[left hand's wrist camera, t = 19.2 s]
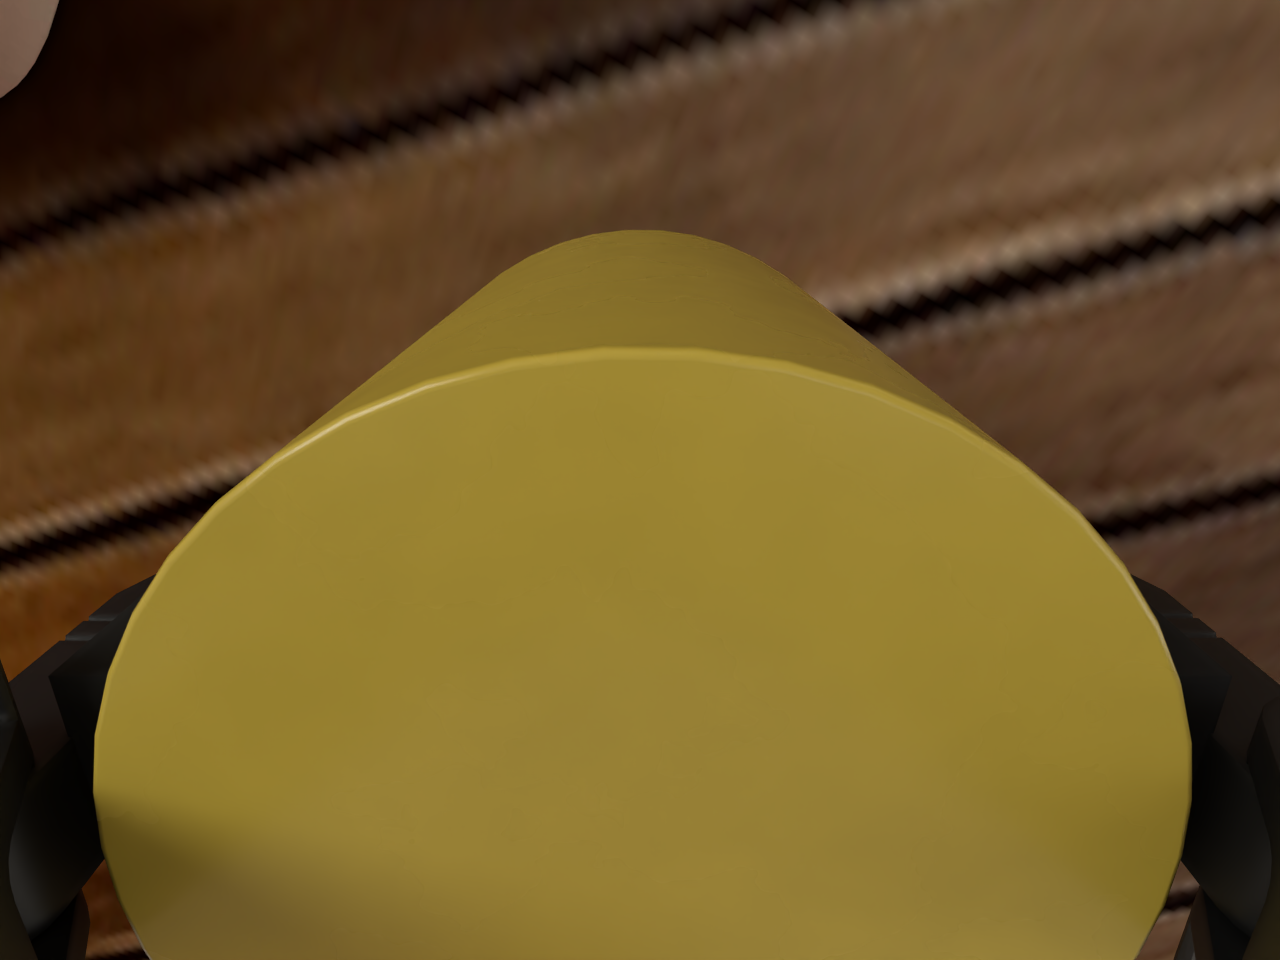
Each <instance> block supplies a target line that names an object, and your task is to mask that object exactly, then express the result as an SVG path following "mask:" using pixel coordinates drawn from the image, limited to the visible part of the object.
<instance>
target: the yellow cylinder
mask: <svg viewBox="0 0 1280 960" xmlns="http://www.w3.org/2000/svg"><path fill="white" fill-rule="evenodd" d="M93 795H94V801H95V808H96V815H97V822H98V829H99V835H100V842H101V848H102V851H103V854H104V857H105V861H106V864H107V867H108V870H109V873H110V876H111V879H112V882H113V885H114V889H115V892H116V895H117V898H118V900H119V902H120V904H121V906H122V908H123V910H124V912H125V914H126V916H127V918H128V920H129V922H130V924H131V926H132V928H133V930H134V932H135V934H136V936H137V938H138V940H139V942H140V944H141V946H142V948H143V950H144V951H145V952H146V954H147V955H148V957H149V958H150V960H1135V959H1136V958H1137V956H1138V955H1139V953H1140V951H1141V949H1142V948H1143V946H1144V944H1145V942H1146V940H1147V938H1148V936H1149V934H1150V932H1151V931H1152V929H1153V927H1154V925H1155V923H1156V921H1157V919H1158V917H1159V915H1160V914H1161V912H1162V910H1163V908H1164V906H1165V903H1166V900H1167V897H1168V894H1169V892H1170V889H1171V886H1172V883H1173V880H1174V877H1175V874H1176V871H1177V869H1178V866H1179V863H1180V860H1181V857H1182V854H1183V848H1184V842H1185V836H1186V831H1187V825H1188V819H1189V814H1190V808H1191V802H1192V742H1191V736H1190V730H1189V725H1188V719H1187V714H1186V708H1185V703H1184V697H1183V692H1182V686H1181V682H1180V679H1179V676H1178V673H1177V671H1176V668H1175V665H1174V663H1173V660H1172V657H1171V655H1170V652H1169V649H1168V647H1167V644H1166V641H1165V639H1164V636H1163V633H1162V631H1161V628H1160V625H1159V623H1158V620H1157V619H1156V617H1155V615H1154V614H1153V612H1152V610H1151V608H1150V607H1149V605H1148V603H1147V602H1146V600H1145V598H1144V597H1143V595H1142V593H1141V592H1140V590H1139V588H1138V587H1137V585H1136V583H1135V581H1134V580H1133V578H1132V576H1131V575H1130V573H1129V571H1128V570H1127V568H1126V566H1125V565H1124V563H1123V562H1122V561H1121V560H1120V558H1119V557H1118V556H1117V555H1116V554H1115V553H1114V551H1113V550H1112V549H1111V548H1110V547H1109V545H1108V544H1107V543H1106V542H1105V541H1104V540H1103V538H1102V537H1101V536H1100V535H1099V534H1098V533H1097V531H1096V530H1095V529H1094V528H1093V527H1092V525H1091V524H1090V523H1089V522H1088V521H1087V520H1086V518H1085V517H1084V516H1083V515H1082V514H1081V512H1080V511H1079V510H1078V509H1077V508H1076V507H1074V506H1073V505H1072V504H1071V503H1070V502H1069V501H1067V500H1066V499H1065V498H1064V497H1063V496H1062V495H1060V494H1059V493H1058V492H1057V491H1056V490H1054V489H1053V488H1052V487H1051V486H1050V485H1049V484H1047V483H1046V482H1045V481H1044V480H1043V479H1042V478H1040V477H1039V476H1038V475H1037V474H1036V473H1035V472H1033V471H1032V470H1031V469H1030V468H1029V467H1027V466H1026V465H1025V464H1024V463H1023V462H1022V461H1020V460H1019V459H1018V458H1017V457H1015V456H1014V455H1013V454H1012V453H1010V452H1009V451H1008V450H1006V449H1005V448H1004V447H1003V446H1001V445H1000V444H999V443H997V442H996V441H995V440H994V439H992V438H991V437H990V436H989V435H987V434H986V433H985V432H983V431H982V430H981V429H980V428H978V427H977V426H976V425H975V424H973V423H972V422H971V421H969V420H968V419H967V418H966V417H964V416H963V415H962V414H960V413H959V412H958V411H957V410H955V409H954V408H953V407H952V406H950V405H949V404H948V403H946V402H945V401H944V400H943V399H941V398H940V397H939V396H938V395H936V394H935V393H934V392H932V391H931V390H930V389H929V388H927V387H926V386H925V385H923V384H922V383H921V382H920V381H918V380H917V379H916V378H915V377H913V376H912V375H911V374H909V373H908V372H907V371H906V370H904V369H903V368H902V367H901V366H899V365H898V364H897V363H895V362H894V361H893V360H892V359H890V358H889V357H888V356H886V355H885V354H884V353H883V352H881V351H880V350H879V349H878V348H876V347H875V346H874V345H872V344H871V343H870V342H869V341H867V340H866V339H865V338H864V337H862V336H861V335H860V334H858V333H857V332H856V331H855V330H853V329H852V328H851V327H849V326H848V325H847V324H846V323H844V322H843V321H842V320H841V319H839V318H838V317H837V316H835V315H834V314H833V313H832V312H830V311H829V310H828V309H827V308H825V307H824V306H823V305H821V304H820V303H819V302H818V301H816V300H815V299H814V298H812V297H811V296H810V295H809V294H807V293H806V292H805V291H804V290H802V289H801V288H800V287H798V286H797V285H796V284H795V283H793V282H792V281H791V280H790V279H788V278H787V277H786V276H784V275H783V274H781V273H780V272H778V271H776V270H775V269H773V268H772V267H770V266H768V265H767V264H765V263H764V262H762V261H760V260H759V259H757V258H755V257H753V256H751V255H749V254H746V253H744V252H742V251H740V250H737V249H735V248H733V247H731V246H728V245H726V244H723V243H719V242H716V241H712V240H709V239H706V238H702V237H699V236H695V235H689V234H683V233H676V232H669V231H662V230H622V231H615V232H607V233H599V234H592V235H588V236H585V237H581V238H577V239H574V240H570V241H566V242H563V243H559V244H557V245H555V246H552V247H550V248H548V249H545V250H543V251H541V252H538V253H536V254H534V255H531V256H529V257H528V258H526V259H524V260H523V261H521V262H519V263H518V264H516V265H514V266H513V267H511V268H509V269H508V270H506V271H504V272H503V273H501V274H500V275H499V276H497V277H496V278H495V279H494V280H492V281H491V282H490V283H489V284H487V285H486V286H485V287H484V288H482V289H481V290H480V291H479V292H477V293H476V294H475V295H474V296H472V297H471V298H470V299H469V300H467V301H466V302H465V303H464V304H462V305H461V306H460V307H459V308H457V309H456V310H455V311H454V312H452V313H451V314H450V315H449V316H447V317H446V318H445V319H444V320H442V321H441V322H440V323H439V324H437V325H436V326H435V327H434V328H432V329H431V330H430V331H429V332H427V333H426V334H425V335H424V336H422V337H421V338H420V339H418V340H417V341H416V342H415V343H413V344H412V345H411V346H410V347H408V348H407V349H406V350H405V351H403V352H402V353H401V354H400V355H398V356H397V357H396V358H395V359H393V360H392V361H391V362H390V363H388V364H387V365H386V366H385V367H383V368H382V369H381V370H380V371H378V372H377V373H376V374H375V375H373V376H372V377H371V378H370V379H368V380H367V381H366V382H365V383H363V384H362V385H361V386H360V387H358V388H357V389H356V390H355V391H353V392H352V393H351V394H350V395H348V396H347V397H346V398H345V399H343V400H342V401H341V402H340V403H338V404H337V405H336V406H335V407H333V408H332V409H331V410H330V411H328V412H327V413H326V414H325V415H323V416H322V417H321V418H320V419H318V420H317V421H316V422H315V423H313V424H312V425H311V426H310V427H308V428H307V429H306V430H305V431H303V432H302V433H301V434H300V435H298V436H297V437H296V438H295V439H293V440H292V441H291V442H290V443H288V444H287V445H286V446H285V447H283V448H282V449H281V450H280V451H278V452H277V453H276V454H275V455H273V456H272V457H271V458H270V459H268V460H267V461H266V462H265V463H263V464H262V465H261V466H260V467H259V468H257V469H256V470H255V471H254V472H252V473H251V474H250V475H249V476H247V477H246V478H245V479H244V480H243V481H241V482H240V483H239V484H238V485H236V486H235V487H234V488H233V489H231V490H230V491H229V492H228V493H227V494H225V495H224V496H223V497H222V498H220V499H219V500H218V501H217V502H216V503H215V504H214V505H213V506H212V507H211V508H210V509H209V510H208V512H207V513H206V514H205V515H204V516H203V517H202V518H201V519H200V521H199V522H198V523H197V524H196V525H195V526H194V527H193V528H192V529H191V531H190V532H189V533H188V534H187V535H186V536H185V537H184V538H183V540H182V541H181V542H180V543H179V544H178V545H177V546H176V547H175V549H174V550H173V551H172V552H171V553H170V554H169V555H168V557H167V558H166V560H165V561H164V563H163V565H162V566H161V568H160V569H159V571H158V572H157V574H156V576H155V577H154V579H153V580H152V582H151V584H150V585H149V587H148V588H147V590H146V592H145V593H144V595H143V596H142V598H141V600H140V601H139V603H138V604H137V606H136V608H135V609H134V611H133V612H132V615H131V617H130V619H129V622H128V624H127V627H126V629H125V632H124V634H123V637H122V639H121V642H120V644H119V647H118V649H117V651H116V654H115V656H114V659H113V661H112V664H111V666H110V669H109V671H108V675H107V679H106V684H105V689H104V693H103V698H102V703H101V708H100V713H99V717H98V722H97V727H96V732H95V745H94V781H93Z"/></svg>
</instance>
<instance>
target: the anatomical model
mask: <svg viewBox="0 0 1280 960" xmlns="http://www.w3.org/2000/svg"><path fill="white" fill-rule="evenodd" d="M58 2H59V0H0V98H1V97H2V96H4V95H5V94H6V93H8V92H9V91H10V90H12V89H13V88H14V87H16V86H17V85H18V84H19V83H20V81H21V80H22V79H23V78H24V77H25V76H26V75H27V73H28V72H29V70H30V69H31V67H32V66H33V65H34V63H35V61H36V59H37V57H38V55H39V53H40V51H41V49H42V47H43V45H44V43H45V41H46V39H47V37H48V34H49V31H50V28H51V25H52V21H53V18H54V15H55V12H56V9H57V6H58Z"/></svg>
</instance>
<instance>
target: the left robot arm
mask: <svg viewBox="0 0 1280 960" xmlns="http://www.w3.org/2000/svg"><path fill="white" fill-rule="evenodd" d="M1130 575H1131V574H1130ZM155 576H156V574H155V575H153V576H151V577H149V578H147V579H145V580H143V581H141V582H139V583H137V584H135V585H133V586H131V587H129V588H127V589H125V590H123V591H121V592H119V593H117V594H116V595H115V596H113V597H112V598H111V599H110V600H108V601H107V602H106V603H105V604H104V605H102V606H101V607H100V608H99V609H98V610H96V611H95V612H94V613H93V614H91V615H90V616H89V621H83V622H82V623H81V624H79V625H78V626H77V627H76V628H75V629H73V630H72V631H71V632H70V633H68V634H67V635H66V639H65V641H59V642H58V643H56V644H55V645H54V646H53V647H51V648H50V649H49V650H48V651H47V652H45V653H44V654H43V655H42V656H41V657H39V658H38V659H37V660H36V661H34V662H33V663H32V664H31V665H30V666H28V667H27V668H26V669H25V670H24V671H22V672H21V673H20V674H19V675H17V676H16V677H15V678H14V679H13V680H11V681H10V682H9V683H8V680H7V677H6V674H5V671H4V669H3V666H2V663H1V660H0V960H85V955H86V948H87V941H88V934H89V927H90V918H89V912H88V906H87V903H86V900H85V897H84V895H83V892H82V889H81V888H82V887H83V886H84V885H85V883H86V882H87V881H88V879H89V878H90V877H91V875H92V874H93V873H94V872H95V870H96V869H97V868H98V866H99V865H100V864H101V862H102V861H103V860H104V859H105V857H104V854H103V851H102V848H101V842H100V835H99V829H98V822H97V815H96V808H95V801H94V795H93V781H94V745H95V732H96V727H97V722H98V717H99V713H100V708H101V703H102V698H103V693H104V689H105V684H106V679H107V675H108V671H109V669H110V666H111V664H112V661H113V659H114V656H115V654H116V651H117V649H118V647H119V644H120V642H121V639H122V637H123V634H124V632H125V629H126V627H127V624H128V622H129V619H130V617H131V615H132V612H133V611H134V609H135V608H136V606H137V604H138V603H139V601H140V600H141V598H142V596H143V595H144V593H145V592H146V590H147V588H148V587H149V585H150V584H151V582H152V580H153V579H154V577H155ZM1131 576H1132V578H1133V580H1134V581H1135V583H1136V585H1137V587H1138V588H1139V590H1140V592H1141V593H1142V595H1143V597H1144V598H1145V600H1146V602H1147V603H1148V605H1149V607H1150V608H1151V610H1152V612H1153V614H1154V615H1155V617H1156V619H1157V620H1158V623H1159V625H1160V628H1161V631H1162V633H1163V636H1164V639H1165V641H1166V644H1167V647H1168V649H1169V652H1170V655H1171V657H1172V660H1173V663H1174V665H1175V668H1176V671H1177V673H1178V676H1179V679H1180V682H1181V686H1182V692H1183V697H1184V703H1185V708H1186V714H1187V719H1188V725H1189V730H1190V736H1191V742H1192V802H1191V808H1190V814H1189V819H1188V825H1187V831H1186V836H1185V842H1184V848H1183V854H1182V857H1181V861H1182V862H1183V864H1184V865H1185V866H1186V868H1187V869H1188V870H1189V872H1190V873H1191V874H1192V875H1193V877H1194V878H1195V879H1196V881H1197V882H1198V883H1199V884H1200V886H1199V889H1198V892H1197V895H1196V897H1195V900H1194V903H1193V906H1192V909H1191V912H1190V914H1189V917H1188V920H1187V923H1186V926H1185V929H1184V931H1183V934H1182V937H1181V940H1180V943H1179V945H1178V948H1177V951H1176V954H1175V957H1174V960H1280V685H1279V684H1278V683H1277V682H1276V681H1274V680H1273V679H1272V678H1271V677H1269V676H1268V675H1267V674H1266V673H1265V672H1263V671H1262V670H1261V669H1260V668H1258V667H1257V666H1256V665H1255V664H1254V663H1252V662H1251V661H1250V660H1249V659H1247V658H1246V657H1245V656H1244V655H1243V654H1241V653H1240V652H1239V651H1238V650H1236V649H1235V648H1234V647H1233V646H1231V645H1230V644H1229V643H1228V642H1227V641H1225V640H1224V639H1223V638H1217V637H1216V632H1214V631H1213V630H1212V629H1211V628H1209V627H1208V626H1207V625H1206V624H1205V623H1203V622H1202V621H1201V620H1200V619H1198V618H1193V616H1192V613H1191V612H1190V611H1189V610H1187V609H1186V608H1185V607H1184V606H1183V605H1181V604H1180V603H1179V602H1178V601H1176V600H1175V599H1174V598H1173V597H1171V596H1170V595H1169V594H1168V593H1167V592H1165V591H1164V590H1162V589H1160V588H1158V587H1156V586H1154V585H1152V584H1150V583H1148V582H1146V581H1144V580H1142V579H1140V578H1138V577H1136V576H1134V575H1131Z"/></svg>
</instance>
